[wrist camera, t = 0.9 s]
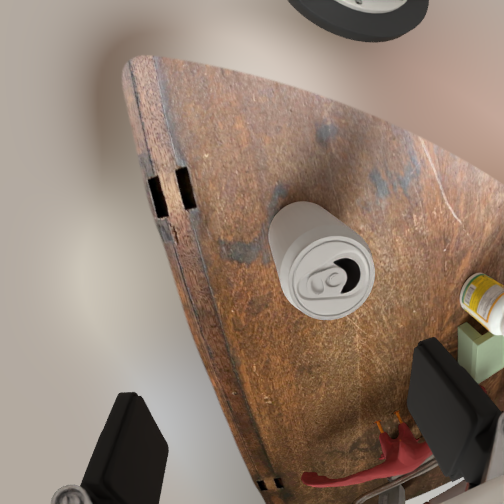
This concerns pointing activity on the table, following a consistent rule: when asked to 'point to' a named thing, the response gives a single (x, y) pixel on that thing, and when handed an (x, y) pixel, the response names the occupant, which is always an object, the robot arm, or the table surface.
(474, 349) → the shelf
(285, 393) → the table surface
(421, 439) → the light fixture
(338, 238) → the beverage can
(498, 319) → the supplement bottle
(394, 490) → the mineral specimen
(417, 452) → the decorative bird sculpture
